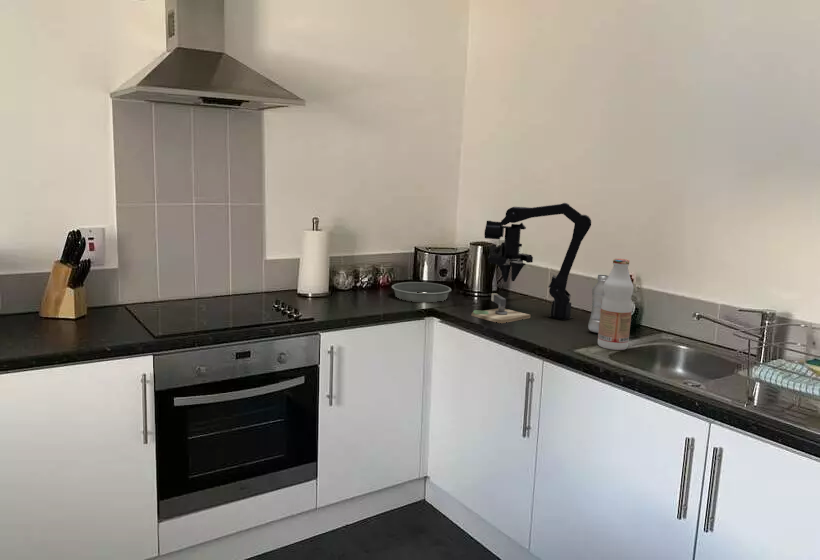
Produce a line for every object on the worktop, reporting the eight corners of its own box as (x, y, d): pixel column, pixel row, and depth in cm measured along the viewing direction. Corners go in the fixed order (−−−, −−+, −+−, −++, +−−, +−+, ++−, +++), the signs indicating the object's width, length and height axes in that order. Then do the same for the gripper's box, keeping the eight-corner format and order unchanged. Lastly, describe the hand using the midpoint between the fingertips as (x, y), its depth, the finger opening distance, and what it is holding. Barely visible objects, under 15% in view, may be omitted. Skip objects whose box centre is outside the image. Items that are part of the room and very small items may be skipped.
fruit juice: (597, 348, 216) (605, 260, 211) (597, 341, 225) (605, 256, 220) (628, 351, 213) (637, 262, 209) (627, 344, 222) (636, 259, 218)
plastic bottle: (592, 329, 241) (598, 273, 238) (610, 333, 237) (616, 276, 233) (584, 332, 236) (589, 275, 233) (603, 336, 232) (608, 277, 229)
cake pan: (392, 290, 295) (392, 280, 295) (449, 293, 295) (449, 283, 295) (390, 302, 271) (390, 291, 270) (452, 305, 271) (452, 294, 270)
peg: (506, 311, 252) (506, 299, 251) (499, 310, 251) (500, 299, 251) (496, 304, 262) (497, 293, 261) (490, 304, 262) (491, 293, 261)
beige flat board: (530, 318, 254) (530, 312, 254) (499, 323, 242) (499, 318, 242) (496, 309, 266) (497, 304, 266) (465, 314, 254) (466, 309, 254)
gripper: (513, 237, 269) (511, 276, 272) (479, 238, 258) (476, 279, 260) (535, 240, 261) (532, 281, 263) (500, 242, 249) (497, 284, 252)
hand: (509, 281), depth 260 cm, fingers open, 4 cm apart
